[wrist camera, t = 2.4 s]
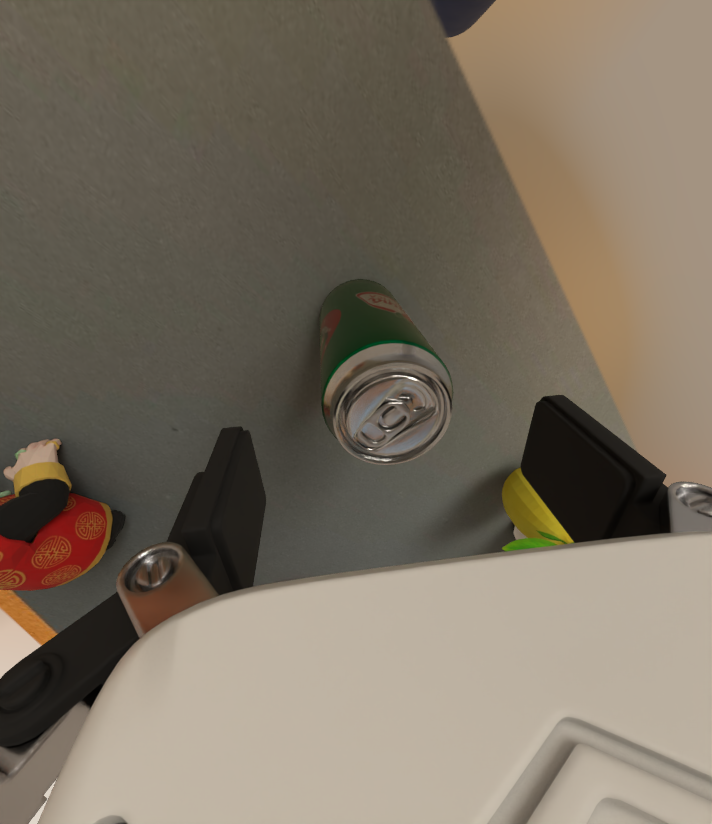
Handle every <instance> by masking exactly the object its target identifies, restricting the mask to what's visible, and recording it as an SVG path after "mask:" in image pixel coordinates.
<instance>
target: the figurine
mask: <svg viewBox="0 0 712 824" xmlns="http://www.w3.org/2000/svg"><path fill="white" fill-rule="evenodd" d="M59 445H61V442H60V439H53V440H48V439H46V440H42V441H39V442H35V443H32V444H29V445H28V447H27V448H22V449H20V450H19V451H18V452H17V453H15V457H16V459H17V462H16V464H15V466H14V467H10V466H8V467H7V468H5V469H4V475H5V477H6V478H8V479H10V480H11V481H13V483H14V490H15V494H13V495H11V491H4V492H1V493H0V590H29V591H31V590H39V589H48V588H52V587H56V586H59V585H63V584H66V583H68V582H70V581H72V580H74V579H76V578H78V577H79V576H81V575H83V574H85V573H86V572H88V571H89V570H90V569H91V568H92V567H94V566H95V565H96V564H97V563H98V562H99V560H100V559H101V557H102V556H103V554H104V553H105V551H106V550H108V549H109V548H111V547H112V546H113V544H114V542H115V541H116V539H115V538H116V536H117V535H118V533H119V532H120V531H121V529H122V528H123V524H124V521H125V516H124V514H123V513H121V512H120V511H116V510H114V511H111V510H110V507H109V506H108V505H107V504H105V503H102V502H99V501H96V500H93V499H90V498H87V497H84V496H80V495H77V494H74V493H70V490H71V486H72V485H71V482H70V480H69V478H68V476H67V473H66V471H65V469H64V466H63V465H61V464H59V463H58V457H57V451H56V450H58V449H59Z"/></svg>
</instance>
